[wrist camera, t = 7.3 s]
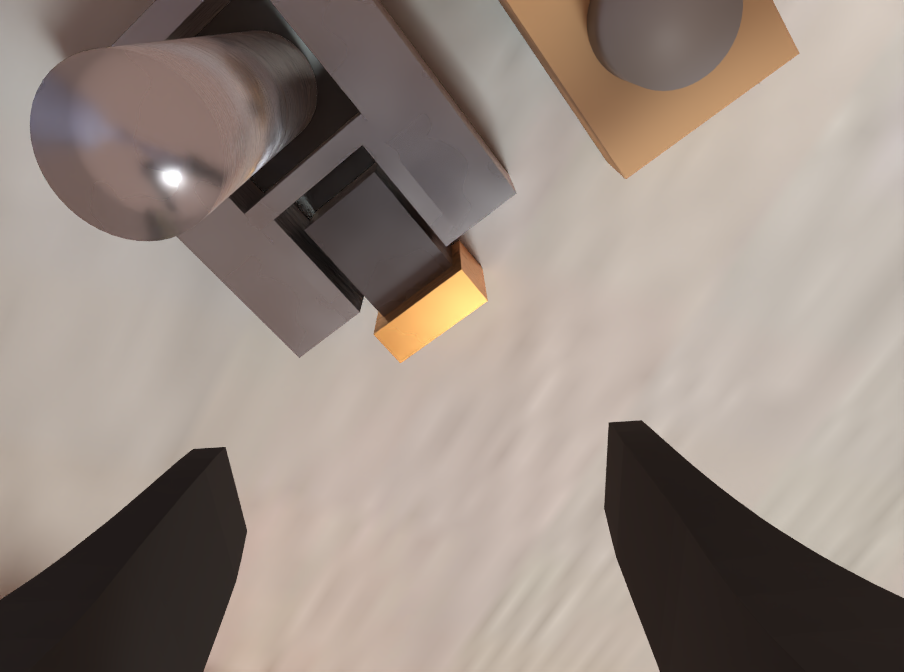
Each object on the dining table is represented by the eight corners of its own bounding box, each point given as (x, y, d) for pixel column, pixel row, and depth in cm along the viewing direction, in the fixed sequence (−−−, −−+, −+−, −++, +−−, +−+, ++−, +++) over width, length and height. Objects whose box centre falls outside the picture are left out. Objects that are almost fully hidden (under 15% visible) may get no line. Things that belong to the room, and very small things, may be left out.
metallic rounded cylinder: (186, 79, 19) (-11, 134, 10) (263, 5, 18) (114, 2, 10) (263, 164, 20) (140, 275, 12) (339, 98, 19) (263, 165, 11)
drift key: (307, 218, 20) (290, 245, 18) (388, 152, 19) (380, 171, 17) (404, 325, 22) (400, 363, 20) (482, 268, 21) (487, 300, 19)
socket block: (90, 99, 19) (48, 110, 17) (297, -110, 17) (278, -126, 15) (312, 326, 22) (299, 357, 20) (508, 174, 20) (516, 192, 18)
